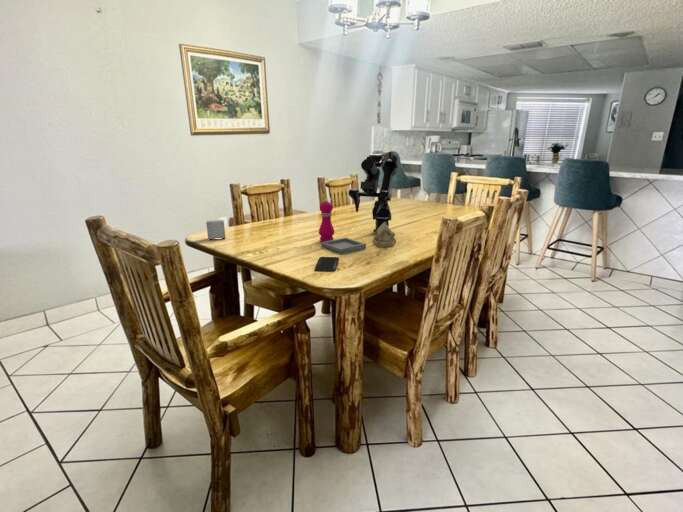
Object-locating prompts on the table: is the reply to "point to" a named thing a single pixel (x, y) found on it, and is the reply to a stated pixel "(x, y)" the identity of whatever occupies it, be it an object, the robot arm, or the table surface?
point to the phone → (327, 264)
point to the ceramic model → (384, 236)
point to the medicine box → (215, 229)
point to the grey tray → (343, 245)
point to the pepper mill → (326, 221)
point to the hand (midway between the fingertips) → (366, 212)
